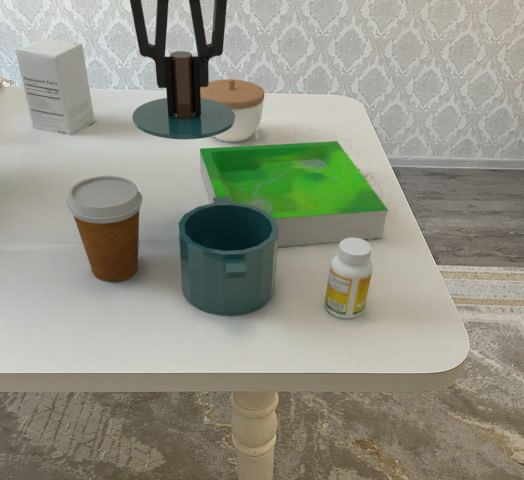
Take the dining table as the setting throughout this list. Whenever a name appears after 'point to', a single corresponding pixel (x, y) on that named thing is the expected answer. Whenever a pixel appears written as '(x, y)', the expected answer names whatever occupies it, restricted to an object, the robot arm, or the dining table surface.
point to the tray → (297, 190)
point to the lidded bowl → (237, 106)
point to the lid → (183, 108)
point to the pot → (228, 257)
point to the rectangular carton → (56, 85)
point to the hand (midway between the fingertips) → (184, 111)
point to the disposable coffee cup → (108, 224)
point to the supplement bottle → (349, 278)
